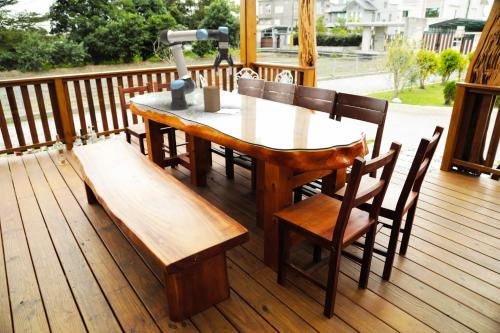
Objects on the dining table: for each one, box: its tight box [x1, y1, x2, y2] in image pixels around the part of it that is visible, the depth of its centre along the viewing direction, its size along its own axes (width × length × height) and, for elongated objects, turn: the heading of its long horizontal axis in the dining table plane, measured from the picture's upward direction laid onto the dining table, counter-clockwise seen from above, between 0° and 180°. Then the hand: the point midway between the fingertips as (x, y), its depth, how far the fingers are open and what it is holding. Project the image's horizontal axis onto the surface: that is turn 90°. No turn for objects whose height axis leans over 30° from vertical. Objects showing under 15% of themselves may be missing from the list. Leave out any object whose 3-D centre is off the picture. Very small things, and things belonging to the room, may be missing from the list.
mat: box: [215, 108, 241, 115], centre depth 269 cm, size 16×14×1 cm
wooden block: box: [202, 85, 221, 113], centre depth 270 cm, size 10×10×20 cm
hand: (224, 75), depth 270 cm, fingers open, 13 cm apart
